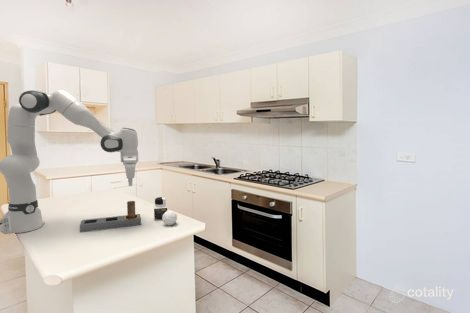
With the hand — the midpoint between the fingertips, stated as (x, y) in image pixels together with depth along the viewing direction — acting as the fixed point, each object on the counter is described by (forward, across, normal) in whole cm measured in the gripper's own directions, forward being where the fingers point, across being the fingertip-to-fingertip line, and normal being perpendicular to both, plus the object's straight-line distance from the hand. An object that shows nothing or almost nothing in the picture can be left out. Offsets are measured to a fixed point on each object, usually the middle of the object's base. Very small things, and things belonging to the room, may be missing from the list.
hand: (130, 184), depth 154 cm
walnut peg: (+22, 0, 0) cm, 22 cm away
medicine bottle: (+22, -3, +16) cm, 27 cm away
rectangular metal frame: (+22, 0, -10) cm, 24 cm away
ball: (+22, +10, +19) cm, 31 cm away
